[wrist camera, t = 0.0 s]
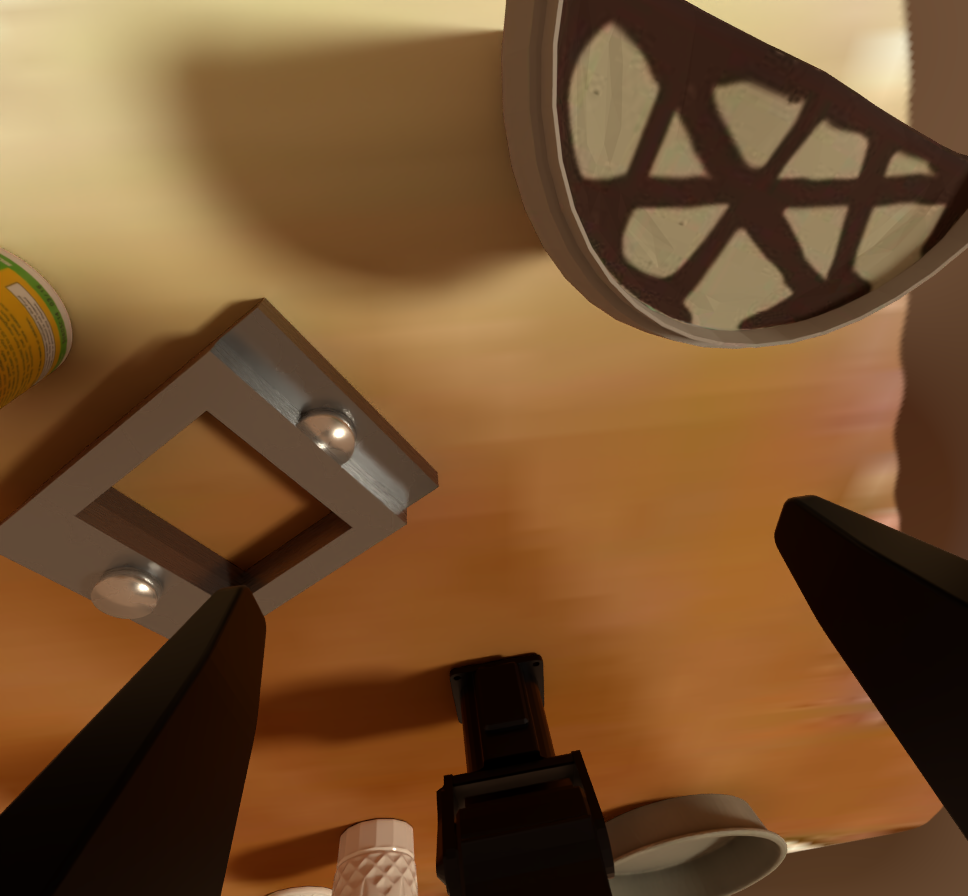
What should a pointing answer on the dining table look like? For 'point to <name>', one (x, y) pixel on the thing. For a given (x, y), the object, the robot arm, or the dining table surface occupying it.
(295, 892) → the decorative candle
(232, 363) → the grey knobbed square frame
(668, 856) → the cake pan
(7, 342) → the supplement bottle
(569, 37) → the food container
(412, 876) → the white cup
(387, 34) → the dining table surface
